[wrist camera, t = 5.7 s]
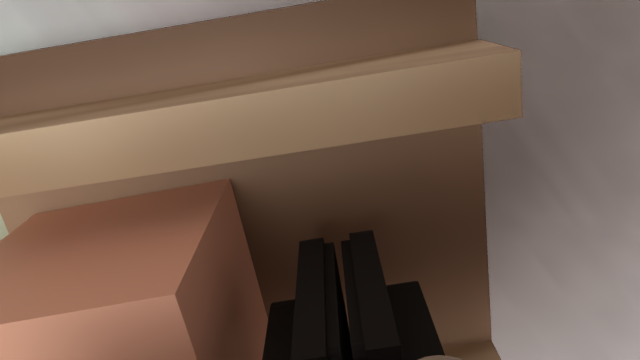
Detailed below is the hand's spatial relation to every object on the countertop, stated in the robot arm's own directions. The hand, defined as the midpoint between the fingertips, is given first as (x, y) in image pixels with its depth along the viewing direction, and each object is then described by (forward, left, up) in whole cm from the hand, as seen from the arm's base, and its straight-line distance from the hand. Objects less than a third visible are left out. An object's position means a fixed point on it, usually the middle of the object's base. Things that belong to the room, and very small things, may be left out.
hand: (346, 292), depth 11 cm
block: (0, -5, -2) cm, 5 cm away
